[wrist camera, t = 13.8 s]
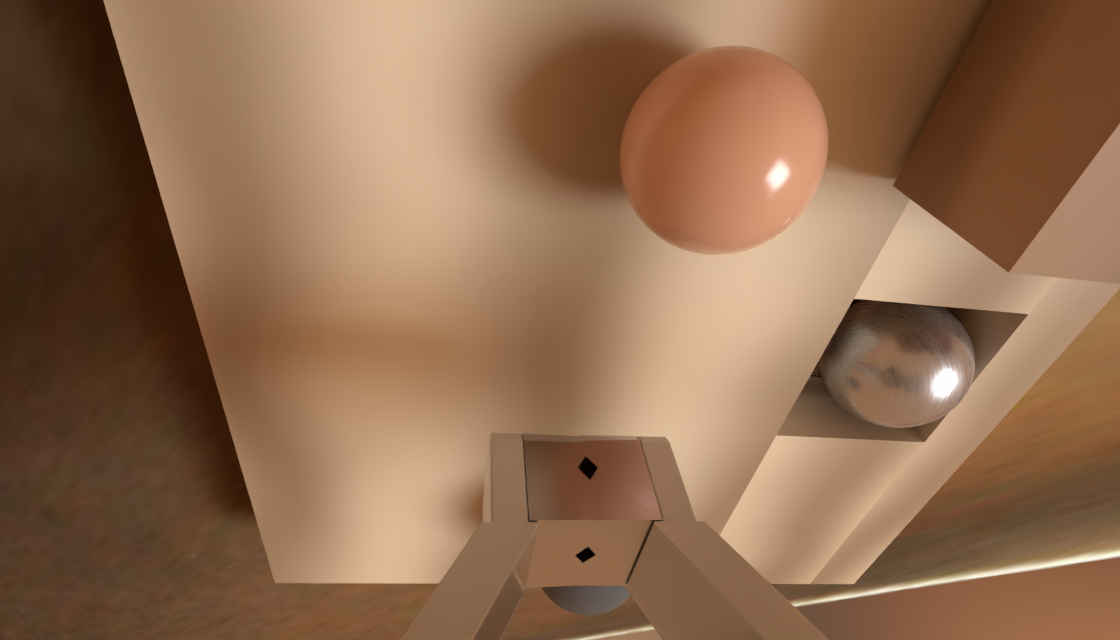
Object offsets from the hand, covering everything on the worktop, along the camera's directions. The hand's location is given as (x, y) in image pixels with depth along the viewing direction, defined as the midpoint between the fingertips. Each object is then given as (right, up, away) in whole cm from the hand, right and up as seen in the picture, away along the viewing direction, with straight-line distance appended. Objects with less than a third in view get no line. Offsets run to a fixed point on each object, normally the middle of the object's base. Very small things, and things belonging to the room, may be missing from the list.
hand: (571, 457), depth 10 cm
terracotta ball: (+2, +5, -1) cm, 5 cm away
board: (+2, +3, +5) cm, 6 cm away
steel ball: (+8, +1, +5) cm, 10 cm away
